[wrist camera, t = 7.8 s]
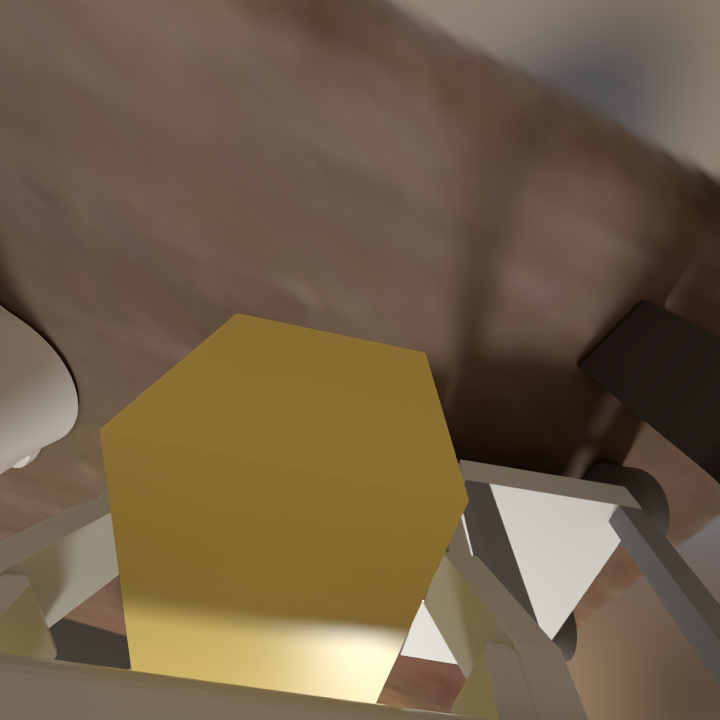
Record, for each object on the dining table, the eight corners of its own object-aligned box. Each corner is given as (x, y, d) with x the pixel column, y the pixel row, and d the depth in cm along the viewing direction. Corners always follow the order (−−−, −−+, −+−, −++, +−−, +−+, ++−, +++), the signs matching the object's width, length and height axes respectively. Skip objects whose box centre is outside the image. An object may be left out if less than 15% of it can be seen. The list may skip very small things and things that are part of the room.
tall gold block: (224, 526, 13) (137, 713, 8) (237, 313, 9) (99, 429, 5) (363, 552, 13) (354, 748, 8) (425, 352, 9) (469, 500, 5)
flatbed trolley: (535, 608, 39) (670, 989, 21) (369, 580, 39) (352, 937, 20) (630, 452, 30) (1045, 899, 11) (412, 416, 30) (453, 802, 11)
